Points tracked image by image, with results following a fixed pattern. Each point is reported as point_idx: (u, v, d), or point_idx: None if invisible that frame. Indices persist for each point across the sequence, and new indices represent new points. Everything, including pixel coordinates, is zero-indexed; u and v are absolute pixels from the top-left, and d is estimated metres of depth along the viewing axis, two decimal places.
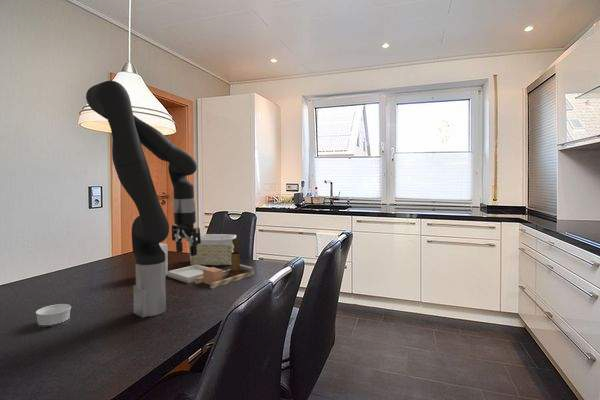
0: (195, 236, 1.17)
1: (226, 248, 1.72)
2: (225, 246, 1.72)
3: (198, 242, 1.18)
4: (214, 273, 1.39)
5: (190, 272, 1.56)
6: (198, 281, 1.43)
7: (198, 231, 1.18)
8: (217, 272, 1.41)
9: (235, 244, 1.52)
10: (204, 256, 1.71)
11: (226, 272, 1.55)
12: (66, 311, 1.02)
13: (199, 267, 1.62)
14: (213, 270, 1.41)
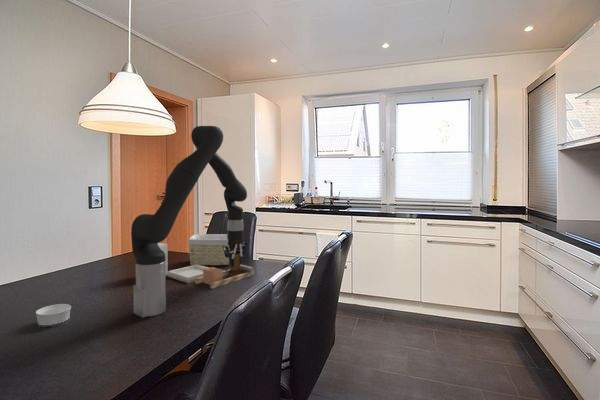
0: None
1: None
2: None
3: None
4: (214, 273, 1.39)
5: (190, 272, 1.56)
6: (198, 281, 1.43)
7: None
8: (217, 272, 1.41)
9: None
10: (204, 256, 1.71)
11: (226, 272, 1.55)
12: (66, 311, 1.02)
13: (199, 267, 1.62)
14: (213, 270, 1.41)
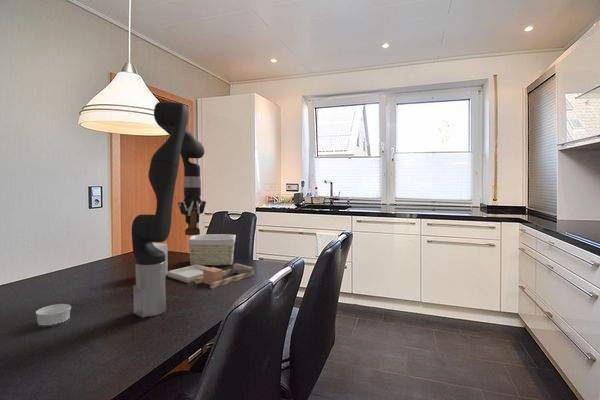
0: None
1: (226, 248, 1.72)
2: (225, 246, 1.72)
3: None
4: (214, 273, 1.39)
5: (190, 272, 1.56)
6: (198, 281, 1.43)
7: None
8: (217, 272, 1.41)
9: None
10: (204, 256, 1.71)
11: (226, 272, 1.55)
12: (66, 311, 1.02)
13: (199, 267, 1.62)
14: (213, 270, 1.41)
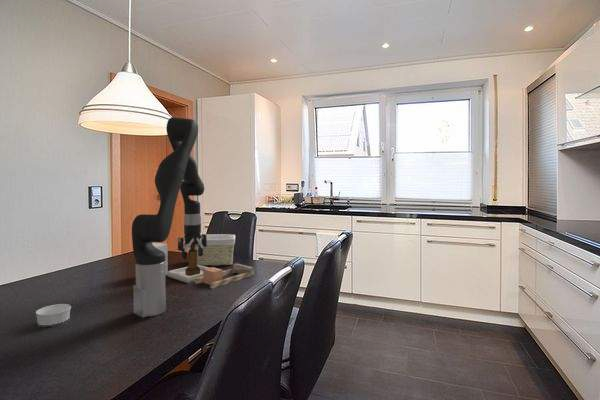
0: None
1: (227, 248, 1.72)
2: (226, 246, 1.72)
3: None
4: (214, 273, 1.39)
5: None
6: (198, 281, 1.43)
7: None
8: (217, 272, 1.41)
9: None
10: (205, 256, 1.71)
11: (226, 272, 1.55)
12: (66, 311, 1.02)
13: (199, 267, 1.62)
14: (213, 270, 1.41)
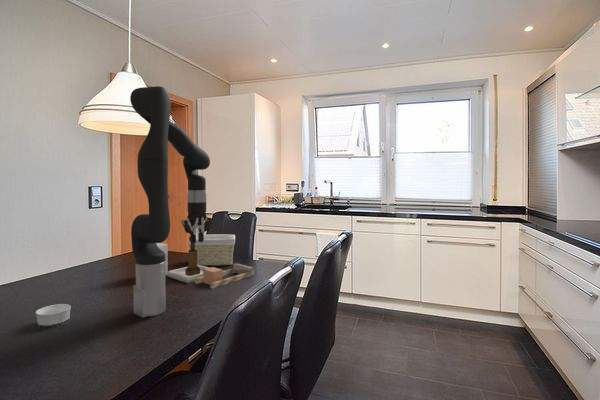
0: None
1: (227, 248, 1.72)
2: (226, 246, 1.72)
3: None
4: (214, 273, 1.39)
5: None
6: (198, 281, 1.43)
7: None
8: (217, 272, 1.41)
9: None
10: (205, 256, 1.70)
11: (226, 272, 1.55)
12: (66, 311, 1.02)
13: (199, 267, 1.62)
14: (213, 270, 1.41)
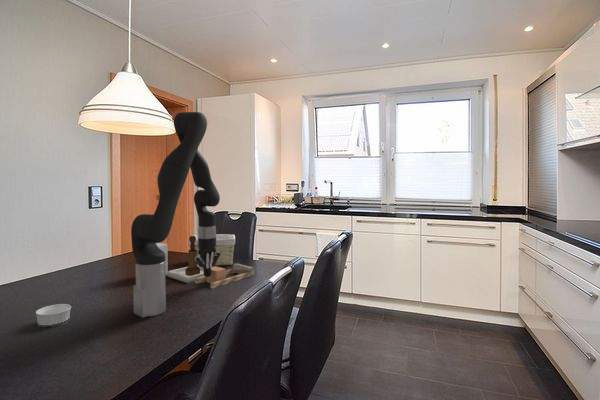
0: None
1: (227, 248, 1.72)
2: (226, 246, 1.72)
3: None
4: (217, 272, 1.41)
5: None
6: (198, 281, 1.43)
7: None
8: (220, 271, 1.42)
9: (192, 241, 1.52)
10: None
11: (226, 272, 1.55)
12: (66, 311, 1.02)
13: (199, 267, 1.62)
14: (216, 269, 1.43)
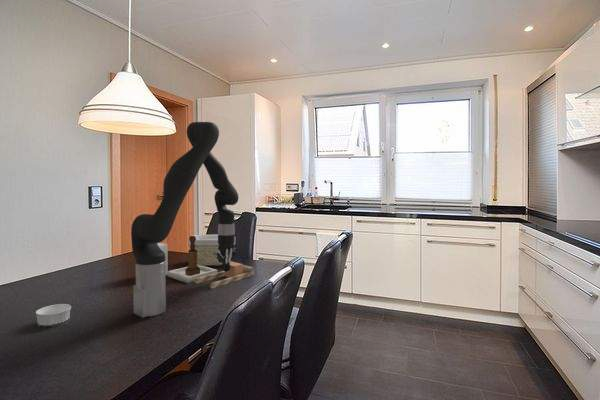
0: None
1: None
2: None
3: None
4: (235, 267, 1.49)
5: None
6: (198, 281, 1.43)
7: None
8: (238, 266, 1.50)
9: (192, 241, 1.52)
10: (205, 257, 1.70)
11: None
12: (66, 311, 1.02)
13: (199, 267, 1.62)
14: (234, 264, 1.51)
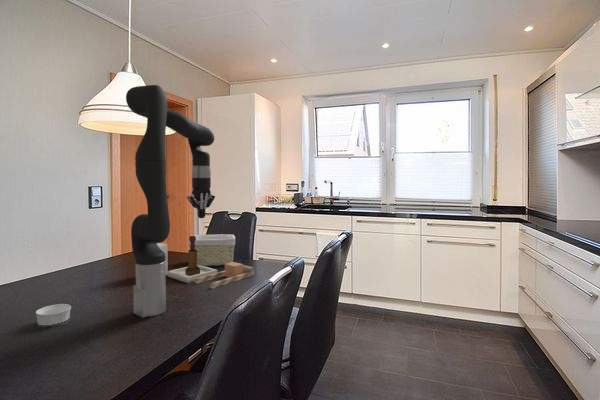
0: None
1: (228, 248, 1.73)
2: (227, 246, 1.72)
3: None
4: (235, 267, 1.49)
5: None
6: (198, 281, 1.43)
7: None
8: (238, 266, 1.50)
9: (192, 241, 1.52)
10: (205, 257, 1.70)
11: None
12: (66, 311, 1.02)
13: (199, 267, 1.62)
14: (234, 264, 1.51)
